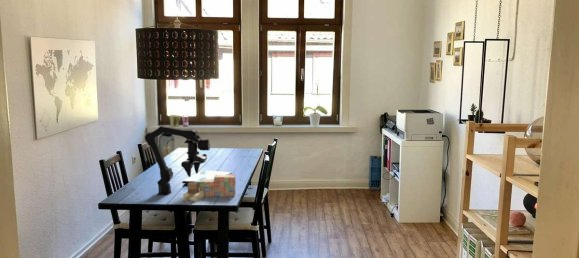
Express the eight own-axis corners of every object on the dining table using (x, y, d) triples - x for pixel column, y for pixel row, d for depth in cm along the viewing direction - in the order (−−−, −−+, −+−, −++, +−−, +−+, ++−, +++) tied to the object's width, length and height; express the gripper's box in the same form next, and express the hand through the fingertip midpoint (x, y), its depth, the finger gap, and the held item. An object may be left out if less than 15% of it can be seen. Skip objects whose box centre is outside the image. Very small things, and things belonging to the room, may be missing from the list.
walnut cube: (195, 194, 267) (195, 184, 266) (187, 193, 268) (187, 183, 267) (199, 191, 272) (199, 181, 271) (191, 190, 273) (191, 181, 272)
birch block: (183, 200, 268) (183, 194, 267) (190, 196, 276) (190, 189, 276) (197, 201, 266) (197, 195, 265) (204, 197, 274) (203, 191, 273)
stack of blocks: (199, 196, 275) (198, 177, 273) (201, 193, 281) (200, 174, 279) (234, 196, 275) (234, 177, 273) (235, 193, 281) (235, 174, 279)
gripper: (197, 154, 265) (197, 180, 267) (211, 148, 283) (211, 172, 285) (180, 152, 268) (181, 178, 270) (195, 147, 286) (195, 171, 288)
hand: (193, 175), depth 278 cm, fingers open, 9 cm apart
